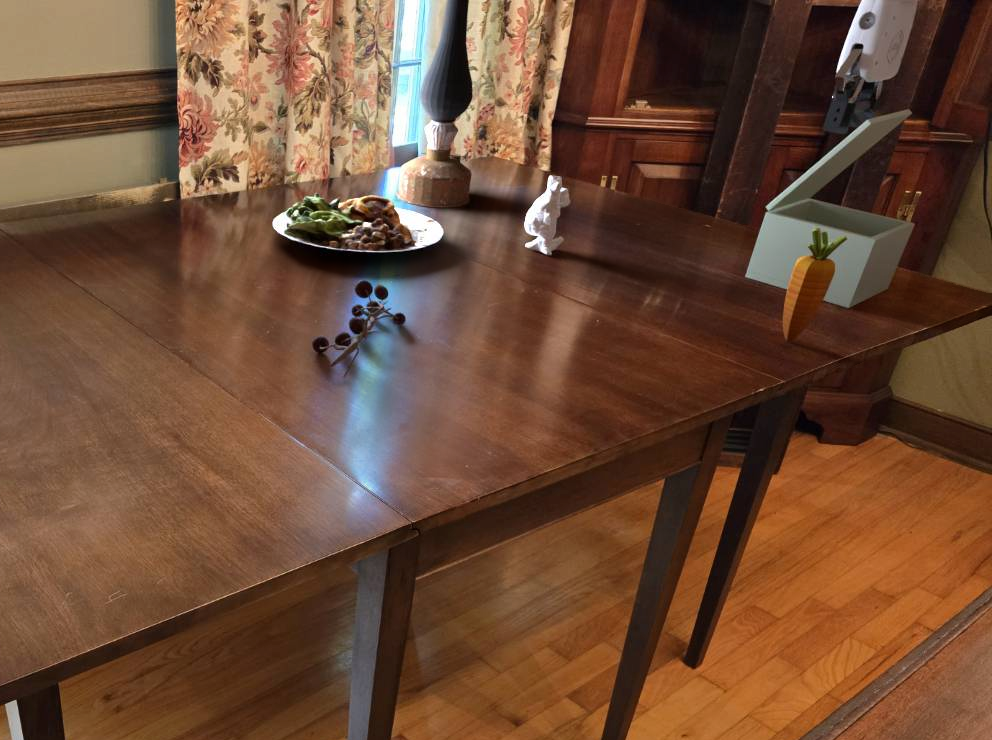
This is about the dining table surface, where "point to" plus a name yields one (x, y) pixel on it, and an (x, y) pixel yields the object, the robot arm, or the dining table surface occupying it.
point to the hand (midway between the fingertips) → (845, 128)
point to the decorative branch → (359, 323)
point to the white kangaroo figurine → (547, 216)
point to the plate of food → (357, 225)
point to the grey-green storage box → (857, 260)
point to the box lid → (842, 153)
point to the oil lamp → (442, 120)
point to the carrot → (809, 284)
